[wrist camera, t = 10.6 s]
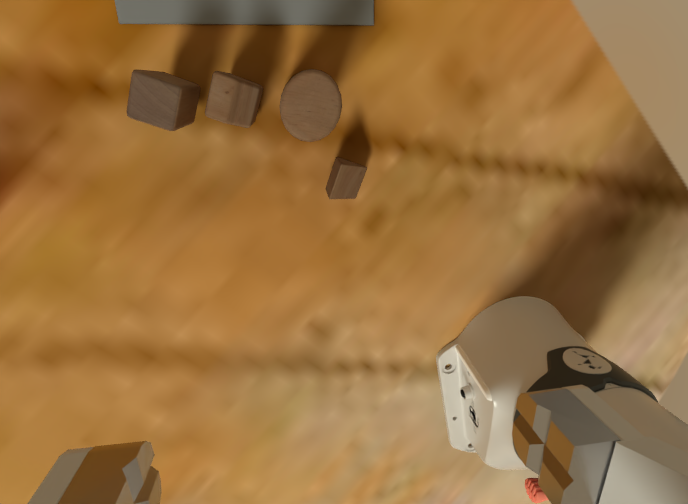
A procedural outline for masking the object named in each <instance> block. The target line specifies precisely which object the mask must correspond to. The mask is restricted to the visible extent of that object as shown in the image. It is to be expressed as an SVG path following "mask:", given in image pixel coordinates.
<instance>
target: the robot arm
mask: <svg viewBox="0 0 688 504" xmlns="http://www.w3.org/2000/svg"><path fill="white" fill-rule="evenodd" d="M436 363H437V369H438V375H439V382H440V388H441V394H442V400H443V407H444V413H445V419H446V426H447V432H448V438H449V442H450V444H451V446H452V447H454V448H456V449H459V450H462V451H467V452H477V454H478V455H479V457H480V458H481V459H482V461H483V462H484V463H486V464H487V465H489V466H491V467H493V468H497V469H502V470H523V469H530V470H532V471H534V472H535V473H537V474H538V478H527V479H526V480H525V488H526V489H527V494H528V495H529V498H530V499H531V500H532V502H535V503H540V502H542V501H545V500H549V501H550V502H551V504H688V425H687V424H686V423H685V422H683V421H682V420H680V419H679V418H678V417H676V416H675V415H673V414H672V413H671V412H669V411H668V410H666V409H665V408H664V407H663V406H661V405H660V404H659V403H658V401H657V399H656V398H655V396H654V395H653V393H652V392H651V391H649V390H648V389H647V388H646V387H645V386H643V385H642V384H641V383H640V382H638V381H637V380H636V379H635V378H633V377H632V376H631V375H630V374H628V373H627V372H625V371H624V370H623V369H621V368H620V367H619V366H617V365H616V364H614V363H613V362H611V361H609V360H608V359H606V358H605V357H603V356H601V355H599V354H598V353H597V352H596V351H595V350H594V349H593V348H592V347H591V346H589V345H588V344H587V343H586V342H585V339H584V338H583V337H582V336H581V335H580V334H579V333H578V332H576V331H575V330H574V329H573V328H572V327H571V326H570V325H569V324H568V323H567V321H566V320H565V319H564V318H563V316H562V315H561V314H560V312H559V311H558V310H557V309H556V308H555V307H554V306H553V305H552V304H550V303H549V302H547V301H545V300H543V299H540V298H536V297H530V296H518V297H512V298H508V299H504V300H502V301H499V302H497V303H495V304H493V305H491V306H489V307H488V308H486V309H485V310H483V311H482V312H480V313H479V314H478V315H477V316H476V317H475V318H474V319H473V320H472V321H471V322H470V323H469V324H468V325H467V327H466V328H465V329H464V330H463V332H462V333H461V334H460V335H459V336H458V337H457V339H455V340H454V341H452V342H451V343H449V344H448V345H446V346H445V347H444V348H442V349H441V350H440V351H439V352H438V354H437V356H436ZM447 364H451V365H450V367H448V368H445V366H446V365H447ZM470 443H471V444H472V445H470V446H468V445H469V444H470ZM153 457H154V452H153V448H152V445H151V443H150V442H147V441H142V442H133V443H123V444H113V445H104V446H95V447H91V448H80V449H70V450H67V451H66V452H64V453H63V454H62V455H60V457H59V458H58V459H57V461H56V462H55V464H54V465H53V467H52V468H51V470H50V471H49V473H48V474H47V476H46V477H45V479H44V480H43V482H42V483H41V485H40V486H39V487H38V489H37V490H36V492H35V493H34V495H33V496H32V498H31V499H30V501H29V502H28V504H160V498H161V480H160V475H159V471H157V470H156V469H155V468H153V467H152V466H150V465H151V463H152V460H153Z"/></svg>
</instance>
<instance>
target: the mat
mask: <svg viewBox="0 0 688 504" xmlns="http://www.w3.org/2000/svg"><path fill="white" fill-rule="evenodd" d="M115 5H116V10H117V15H118V20H119V23H120V24H237V25H374V0H115Z"/></svg>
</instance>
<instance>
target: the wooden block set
mask: <svg viewBox="0 0 688 504" xmlns="http://www.w3.org/2000/svg"><path fill="white" fill-rule="evenodd" d="M262 93H263V86H261V85H259V84H257V83H254V82H251V81H249V80H246V79H243V78H241V77H238V76H235V75H233V74H230V73H225V72H220V71H215V72H214V73H213V76H212V81H211V86H210V90H209V95H208V100H207V105H206V109H205V115H206V116H207V117H209V118H212V119H215V120H217V121H220V122H223V123H227V124H231V125H236V126H241V127H245V128H249V127H250V126H251V125H252V124H253V123H254V122H255V120H256V116H257V112H258V108H259V104H260V100H261V96H262ZM199 94H200V86H199V85H198V84H196V83H193V82H190V81H187V80H185V79H182V78H179V77H176V76H173V75H171V74H168V73H165V72H158V71H147V70H134V71H133V72H132V77H131V84H130V91H129V99H128V106H127V116H129V117H130V118H131V119H135V120H138V121H141V122H144V123H147V124H150V125H153V126H156V127H159V128H162V129H165V130H169V131H175V130H177V129H179V128H182V127H184V126H187V125H189V124H192V123H193V122H194V119H195V114H196V109H197V104H198V99H199ZM341 109H342V101H341V94H340V91H339V88H338V86H337V84H336V83H335V81H334V80H333V79H332V77H331V76H329V75H328V74H326V73H325V72H323V71H320V70H315V69H309V70H304V71H301V72H299V73H298V74H296V75H295V76H293V77H292V78H291V79H290V81H289V82H288V83H287V84H286V86H285V88H284V90H283V93H282V95H281V101H280V113H281V119H282V121H283V123H284V126H285V128H286V129H287V130H288V131H289V132H290V134H291V135H292V136H294V137H296V138H297V139H299V140H301V141H307V142H312V141H317V140H320V139H322V138H324V137H326V136H327V135H329V133H330V132H331V131H332V130H333V129H334V128H335V126H336V124H337V122H338V120H339V118H340V114H341ZM366 170H367V167H365V166H362V165H359V164H357V163H354V162H351V161H348V160H345V159H342V158H339V157H336V159H335V162H334V165H333V168H332V171H331V174H330V177H329V180H328V183H327V186H326V191H327V194H328V197H329V199H355V198H356V196H357V194H358V191H359V188H360V186H361V183H362V180H363V178H364V175H365V172H366Z"/></svg>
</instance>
